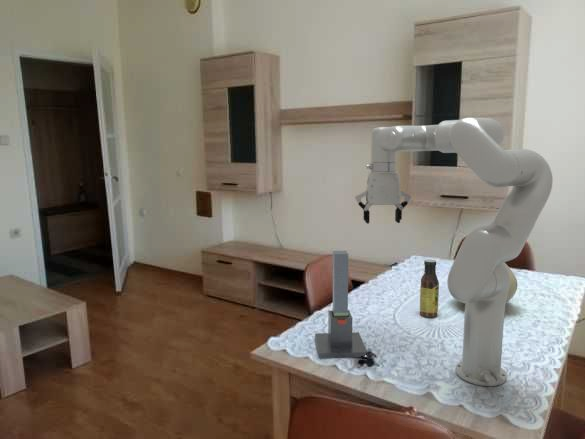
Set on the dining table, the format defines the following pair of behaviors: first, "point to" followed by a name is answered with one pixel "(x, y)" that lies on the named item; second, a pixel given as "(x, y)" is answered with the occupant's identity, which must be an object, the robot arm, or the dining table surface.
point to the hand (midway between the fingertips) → (382, 222)
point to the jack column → (340, 284)
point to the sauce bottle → (429, 290)
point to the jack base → (340, 339)
